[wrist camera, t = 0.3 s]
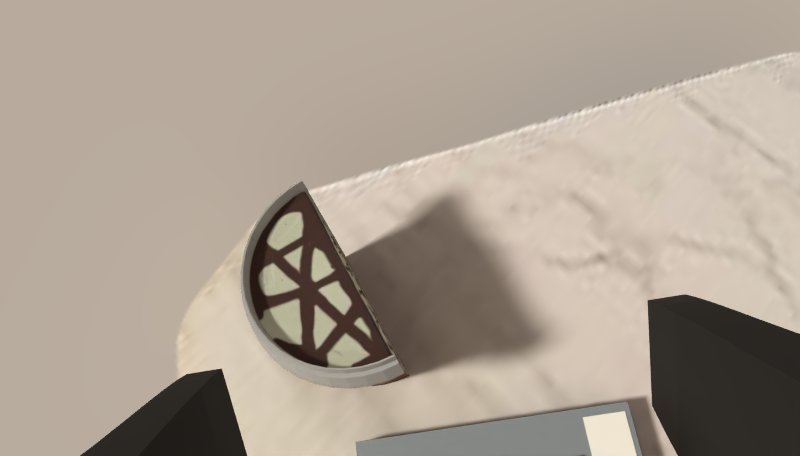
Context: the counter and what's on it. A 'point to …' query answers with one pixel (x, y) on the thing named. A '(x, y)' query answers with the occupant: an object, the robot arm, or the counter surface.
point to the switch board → (523, 436)
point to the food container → (312, 300)
